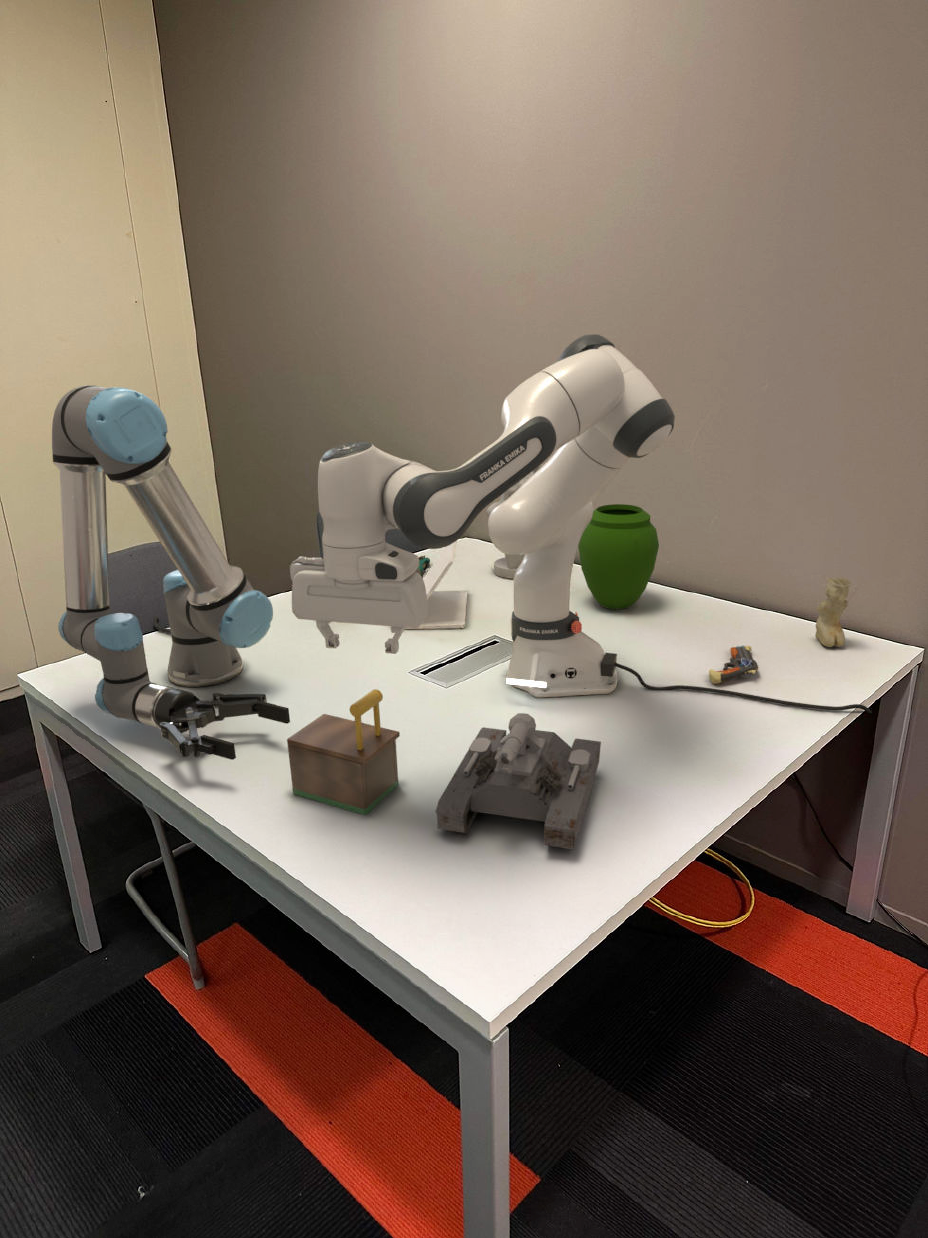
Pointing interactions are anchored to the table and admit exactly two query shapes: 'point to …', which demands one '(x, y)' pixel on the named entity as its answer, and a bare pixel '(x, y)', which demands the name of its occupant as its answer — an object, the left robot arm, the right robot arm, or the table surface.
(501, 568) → the bust sculpture
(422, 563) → the spray gun
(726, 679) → the toy gun
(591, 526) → the vase
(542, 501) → the right robot arm
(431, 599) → the tablet stand
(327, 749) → the lid
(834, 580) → the sculpture
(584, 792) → the toy
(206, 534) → the left robot arm
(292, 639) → the table surface
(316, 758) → the chest
